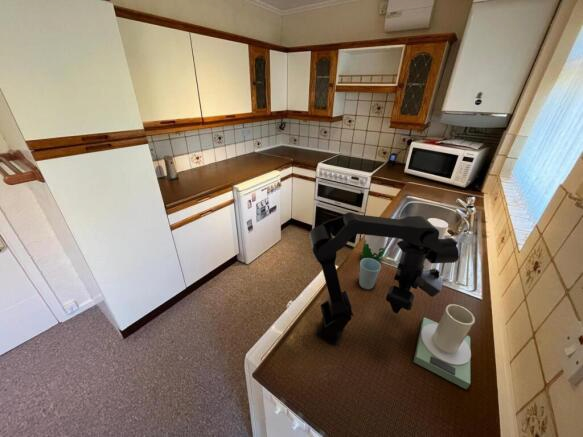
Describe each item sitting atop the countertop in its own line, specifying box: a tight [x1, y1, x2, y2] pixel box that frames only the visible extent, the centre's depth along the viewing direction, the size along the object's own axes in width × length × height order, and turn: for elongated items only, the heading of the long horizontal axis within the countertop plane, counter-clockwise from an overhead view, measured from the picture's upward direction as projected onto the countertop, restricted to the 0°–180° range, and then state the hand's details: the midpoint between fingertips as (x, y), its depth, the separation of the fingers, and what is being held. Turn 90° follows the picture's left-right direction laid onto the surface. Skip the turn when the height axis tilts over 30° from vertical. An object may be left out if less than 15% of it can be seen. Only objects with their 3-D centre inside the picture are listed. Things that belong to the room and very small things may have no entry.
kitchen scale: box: [413, 316, 472, 390], centre depth 71 cm, size 16×13×3 cm
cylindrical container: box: [423, 217, 449, 271], centre depth 97 cm, size 7×7×25 cm
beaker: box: [433, 303, 476, 353], centre depth 68 cm, size 7×7×12 cm
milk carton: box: [360, 235, 389, 263], centre depth 105 cm, size 9×9×20 cm
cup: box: [358, 258, 382, 290], centre depth 94 cm, size 8×8×10 cm
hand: (398, 301), depth 72 cm, fingers open, 9 cm apart
